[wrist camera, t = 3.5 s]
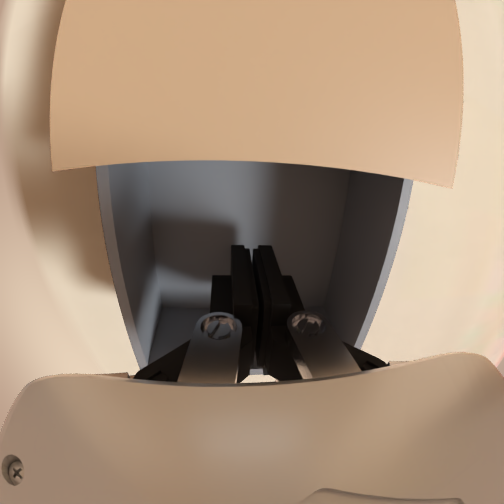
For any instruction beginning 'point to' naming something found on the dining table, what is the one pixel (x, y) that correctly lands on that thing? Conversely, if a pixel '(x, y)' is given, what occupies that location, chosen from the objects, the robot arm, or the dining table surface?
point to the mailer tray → (245, 240)
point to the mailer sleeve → (260, 84)
